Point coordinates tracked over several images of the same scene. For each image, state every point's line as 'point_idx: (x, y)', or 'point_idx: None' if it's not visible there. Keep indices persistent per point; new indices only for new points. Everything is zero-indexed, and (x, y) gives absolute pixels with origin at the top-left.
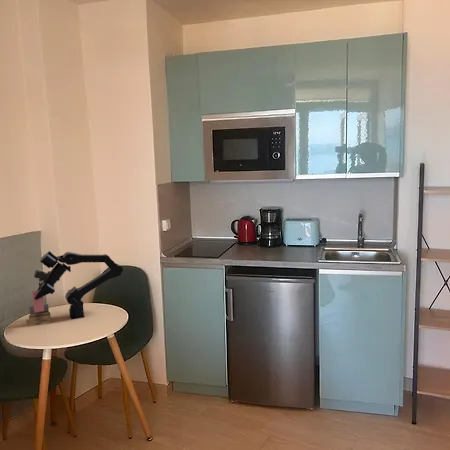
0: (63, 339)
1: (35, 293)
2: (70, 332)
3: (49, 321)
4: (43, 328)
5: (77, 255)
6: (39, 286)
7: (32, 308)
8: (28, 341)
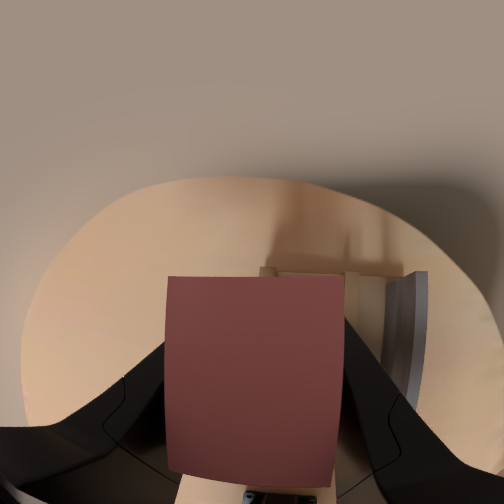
0: (38, 365)
1: (174, 335)
2: None
3: None
4: None
5: None
6: (384, 500)
7: (409, 298)
8: (74, 253)
